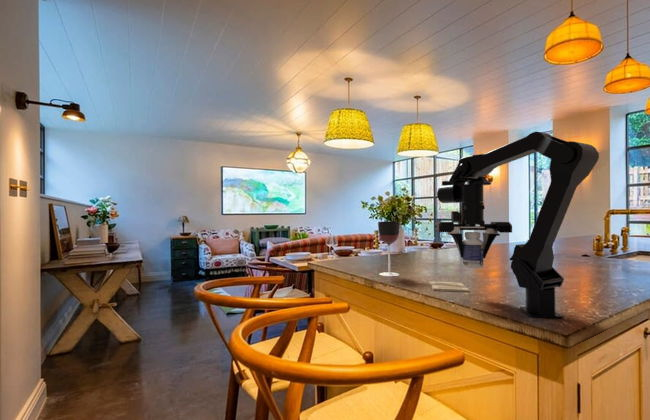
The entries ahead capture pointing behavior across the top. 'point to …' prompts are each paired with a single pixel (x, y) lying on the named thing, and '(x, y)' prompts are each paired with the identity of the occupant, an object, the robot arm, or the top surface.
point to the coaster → (448, 286)
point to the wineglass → (388, 239)
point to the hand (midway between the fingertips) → (472, 257)
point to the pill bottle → (472, 250)
